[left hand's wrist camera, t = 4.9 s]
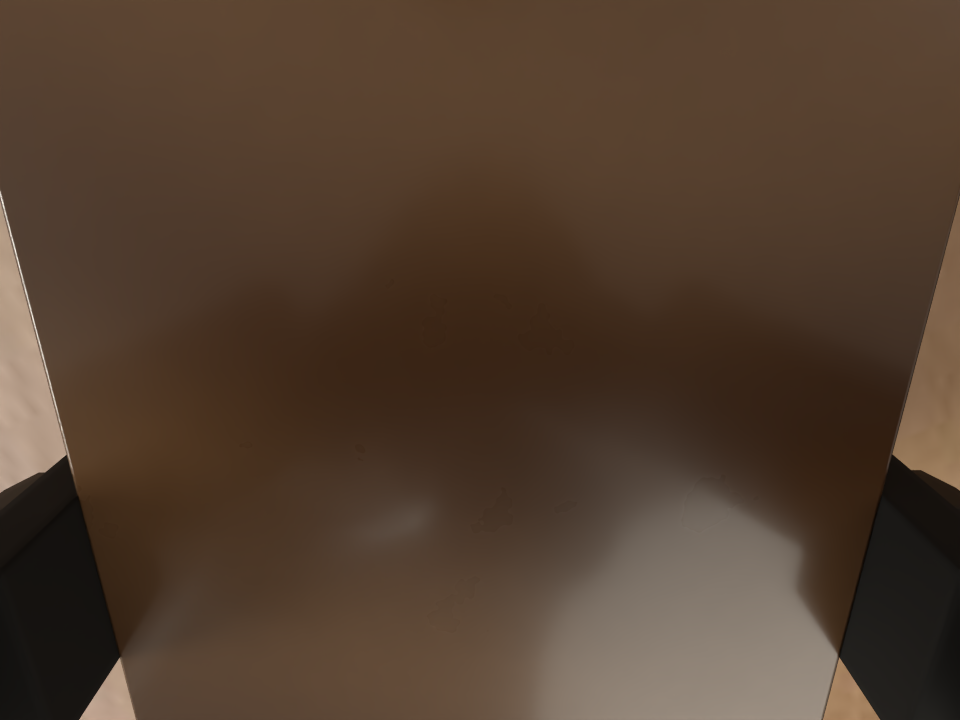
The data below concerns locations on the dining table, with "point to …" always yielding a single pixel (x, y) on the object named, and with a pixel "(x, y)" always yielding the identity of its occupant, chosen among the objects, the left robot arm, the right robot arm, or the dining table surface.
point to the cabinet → (479, 338)
